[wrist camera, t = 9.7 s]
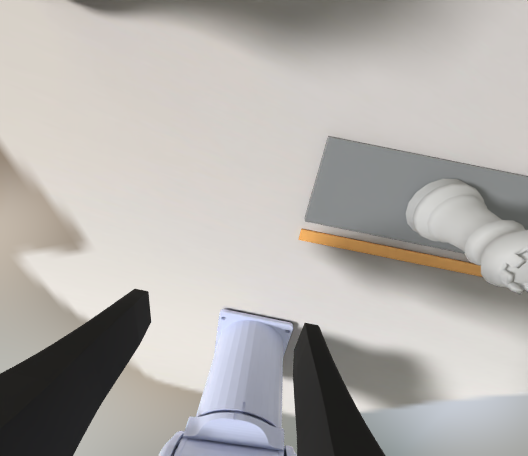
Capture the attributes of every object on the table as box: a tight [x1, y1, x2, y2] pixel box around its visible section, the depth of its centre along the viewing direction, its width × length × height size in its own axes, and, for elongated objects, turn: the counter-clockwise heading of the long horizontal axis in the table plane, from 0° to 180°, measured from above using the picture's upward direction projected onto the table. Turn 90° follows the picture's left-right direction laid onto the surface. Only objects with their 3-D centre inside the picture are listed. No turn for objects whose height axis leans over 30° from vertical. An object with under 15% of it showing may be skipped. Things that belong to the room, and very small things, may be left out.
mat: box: [305, 136, 528, 254], centre depth 17 cm, size 6×20×1 cm, turn 80°
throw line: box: [299, 229, 483, 277], centre depth 20 cm, size 1×20×1 cm, turn 80°
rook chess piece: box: [406, 179, 528, 294], centre depth 13 cm, size 4×4×8 cm
